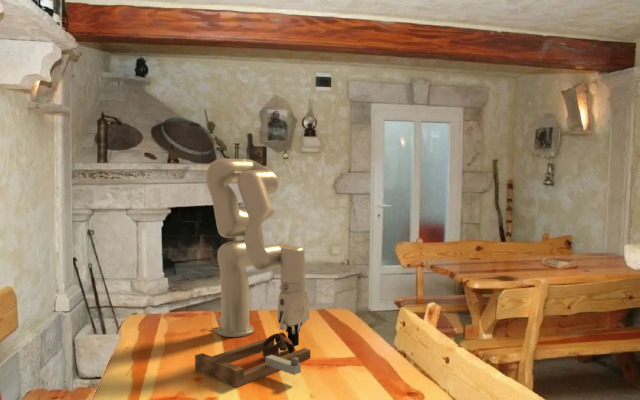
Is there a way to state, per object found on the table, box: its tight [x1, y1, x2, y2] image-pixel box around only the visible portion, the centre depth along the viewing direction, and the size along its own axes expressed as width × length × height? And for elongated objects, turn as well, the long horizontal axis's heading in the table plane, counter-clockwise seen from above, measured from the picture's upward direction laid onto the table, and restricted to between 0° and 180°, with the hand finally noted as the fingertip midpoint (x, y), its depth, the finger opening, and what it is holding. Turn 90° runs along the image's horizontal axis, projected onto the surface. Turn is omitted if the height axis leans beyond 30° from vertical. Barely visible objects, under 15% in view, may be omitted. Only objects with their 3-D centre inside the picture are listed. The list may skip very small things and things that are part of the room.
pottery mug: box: [262, 332, 296, 359], centre depth 159 cm, size 12×10×8 cm
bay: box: [194, 337, 311, 388], centre depth 153 cm, size 18×28×4 cm, turn 139°
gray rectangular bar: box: [264, 355, 302, 376], centre depth 142 cm, size 11×2×4 cm, turn 49°
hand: (293, 344), depth 165 cm, fingers closed
